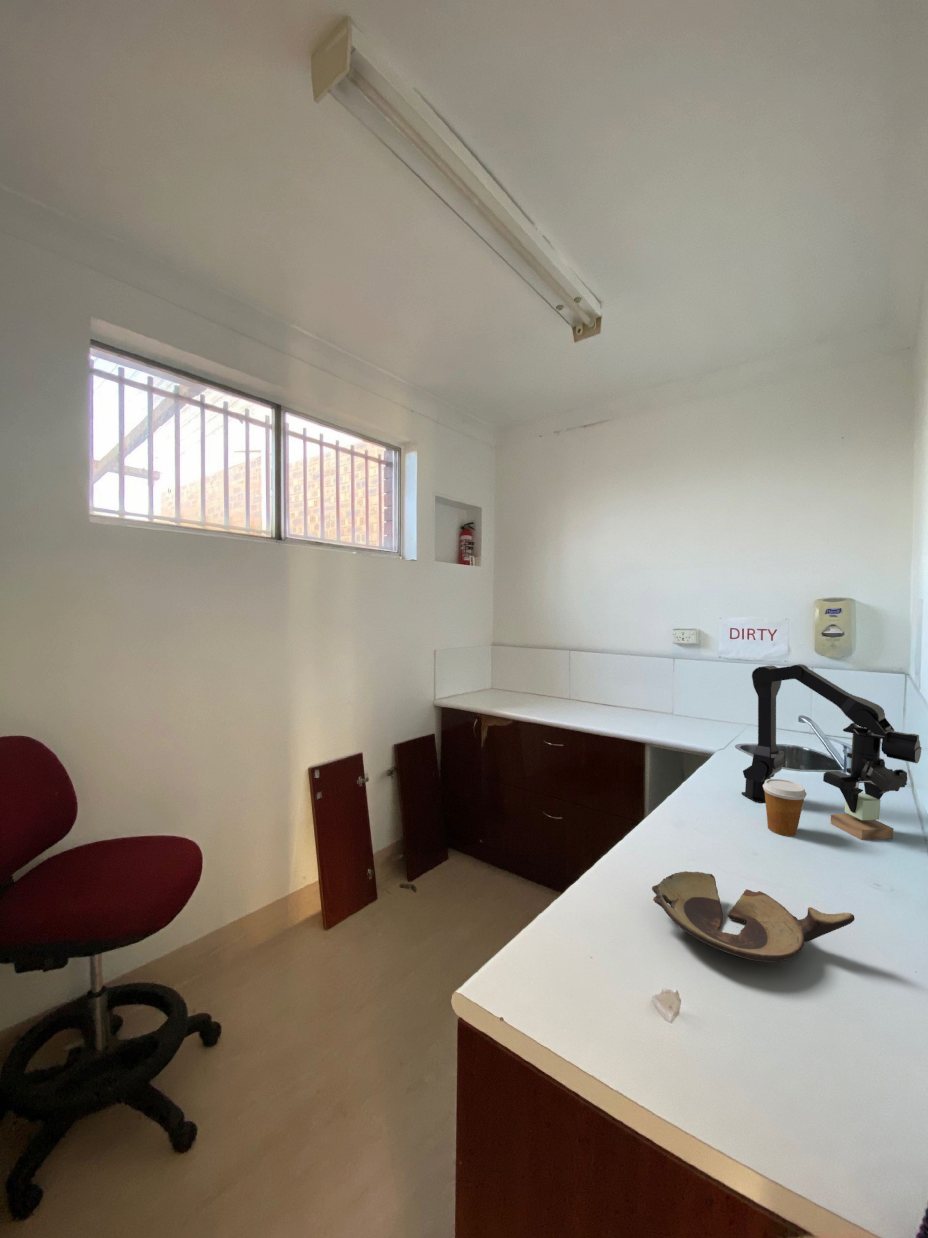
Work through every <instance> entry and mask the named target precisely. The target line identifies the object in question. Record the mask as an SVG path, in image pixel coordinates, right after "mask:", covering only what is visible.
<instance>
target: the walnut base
mask: <svg viewBox="0 0 928 1238" xmlns="http://www.w3.org/2000/svg"><path fill="white" fill-rule="evenodd" d="M830 824H831V825H833V826H835V827H836V828H839V829H840V830H842V831H844V832H846V833H848V834H850V835H851V836H853V837H856V838H858V839H859V840H861V841H862V840H879V839H883V840H884V839H893V838H894V827H892V826H889V825H887V824H885V823H883V822H881V821H879V820H860V819H858V818H856V817H854V816H852V815H850V814H848V813H833V814H832V813H831V814H830Z"/></svg>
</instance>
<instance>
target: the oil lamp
mask: <svg viewBox="0 0 928 1238" xmlns="http://www.w3.org/2000/svg"><path fill="white" fill-rule="evenodd" d="M651 890H652V892H653V893H654V894H655V896H653V898H652V900H653V902H654V903H655V904H657V905H658V906H660V907H661V908H662V910H663V911H664V912H665V913H666V915H667V916H668V917H669V918H670V919H671V920H672V921H673V922H674V923H675V924H676V925H677V926H678V927H679V928H680V929H682V930H683V931H684V932H686V933H688V935H691V936H692V937H693V938H696V939H697V940H699V941H701V942H703V943H704V944H706V945H709V946H711V947H713V948H715V949H717V950H720V951H722V952H725V953H727V954H731V955H732V956H737V957H739V958H744V959H747V960H750V961H756V962H757V961H758V962H767V963H773V962H775V963H776V962H783V961H787V960H790V959H792V958H794V957H796V956H797V955H799V953H801V952H802V950H803V948H804V946H805V943H808V942H810V941H814V939H817V938H820V937H822V936H824V935H826V934H829V933H831V932H834V931H836V930H839V929H842V928H844V927H846V926H848V925H851V924H852V923H853V922H854V921H855V915H854V914H853V913H850V912H839V913H825V912H821V911H819V910H817V909H815V908H813V907H811V906H809V907H808V908H807V915H806V916H805V917H804V918H801V919H800V918H799V919H798V918H797V917H796V916H795V915H793V914H792V913H791V912H790V911H789V910H788V909H786V907H785V906H784V905H782V904H781V903H779V902H778V900H775V899H774V898H773V897H771V896H770V895H768V894H767V893H765V892H763V891H761V890H759V891H753V890H751V889H747V888H746V889H745V890H744V891H743V893H742V894H741V896H740V898H739V899H738V900H736V902H735V904H734V905H733V906H732V908H731V909H730V910H729V911H728V913H727V914H726V915H727V918H729V919H730V920H733V921H735V922H739V923H746V924H745V925H744V927H743V928H742V929H740V932H739V933H738V934H735V933H729V932H723V931H720V930H719V929H720V927H721V926H722V925H723V922H724V921H723V920H724V913H723V907H722V904H721V900H720V897H719V892H718V887H717V882H716V878H715V876H714V875H713V874H712V873H706V872H700V871H685V870H684V871H678V872H674V873H672V874H671V875H668V876H666V877H665V878H663V879H662V880H661V881H660V882H659V883H658V884H655V885H652V886H651ZM736 928H739V927H738V926H736Z"/></svg>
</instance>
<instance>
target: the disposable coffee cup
mask: <svg viewBox="0 0 928 1238" xmlns="http://www.w3.org/2000/svg"><path fill="white" fill-rule="evenodd" d="M763 788H764V791H765V801H766V802H765V808H766V809H765V811H766V813H765V814H766V824H767V829H768V830H769V831H770V832H771V833H774V834H777V835H780V836H785V837H794V836H796V835H798V834H797V832H798V829H799V824H800V819H801V815H802V809H803V805H804V799H806V796H807V794H808V793H807V792H806V789H805V786H803V785H801V784H800V783H797V782H794V781H791V780H787V779H782V778H771V779H767V780H766V781H765V783H764V784H763Z"/></svg>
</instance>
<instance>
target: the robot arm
mask: <svg viewBox="0 0 928 1238" xmlns="http://www.w3.org/2000/svg"><path fill="white" fill-rule="evenodd" d="M751 679H752V686H753V688H754V691H755V693H756V695H757V746H756V748H755V751H754V753H753V755H752V761H751V765H750V766H748V767H747V768H745V769H744V770H742V774H743V777H744V778H745V787H744V788H745V791H741V795H742V796H744V797H746V798H748V799H750V801H753V802H755V803H766V801H765V791H764V788H763V784H764V783H765V781H766V780H767V779H772V778H774V777H775V775H776V774H777V773H779V772H780V771H781V770H782V768H783V766H785V765H786V764H785V760H784V757H785V751H783V750H779V749H778V746H777V695H778V693H779V691H780V689H781V685H782V681H787V680H789V681H790V680H796V681H798V682H800V683H801V684H803V685H804V686H806V687H807V688H808V689H810V690H812V691H814V692H815V693H817V695H820V696H821V697H823V698H824V699H825V700H827V701H829V702H831V703H832V704H834V706H836V707H837V708H839V709H840V711H841V712H842V713H843V714H844V715H845V717H847V718H848V719H849V720H850V721H852V723H850V724H849V725H848V726H847V727H845V728H843V729H842V731H843V732H845V733H850V734H852V737H851V738H852V740H851V752H846V753H847V754H846V757H847V758H850V767H847V768H845V773H844V772H842V771H839V770H832V771H829V770H828V771H827V770H826V771H825V772H823V780H822V781H823V782H824V783H826V784H829V785H831V786H833V787H835V788H837V789H839V790H840V792H841V794H842V796H843V799H844V800H846V802H847V805H848V807H849V809H850V811H851V812H853V813H855V812H856V808H857V801H858V794H859V793H863V791H864V792H865V794H867V795H869V796H872V797H874V798H876V799H879V800H881V798H882V797H883V795H884V794H886V793H888V792H892V791H893V792H899V791H900V788H906V786H907V784H908V783H907V782H908V772H906V771H905V770H904V769H899V768H898V769H892V768H887V767H886V762H885V759H884V758H881V752H882V753H883V755H886V757H887V758H890V759H894V760H895V759H896V760H899V761H905V762H909V763H913V764H918V763H919V762H920V760H921V759H920V758H921V757H922V756H921V755H922V747H921V741H920V734H916V733H905V732H900V731H895V729H894V727H893V726H892V725H891V723H890V722H889V721H888V719H887V718H886V714H885V710H884V709H883V707H882V706H881V705H879V704H877V703H876V702H872V701H871V700H868V699H865V698H863V697H859V696H857V695H854V694H852V693H849V692H848V691H846V690H845V689H843V688H842V687H839V686H838V685H836V684H834V683H833V682H831V681H830V680H828V679H827V678H825V677H823V676H822V675H820V674H819V673H816V672H815V671H813V670H812V669H811V668H809V667H808V666H807V665H805V664H801V663H799V664H794V665H791V666H782V667H777V666H776V665H771V664H770V665H763V666H759V667H756V668H755V669H753V671H752V672H751ZM849 774H850V775H849ZM860 784H863V788H864V790H863V789H862V788H859V787H860Z"/></svg>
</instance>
